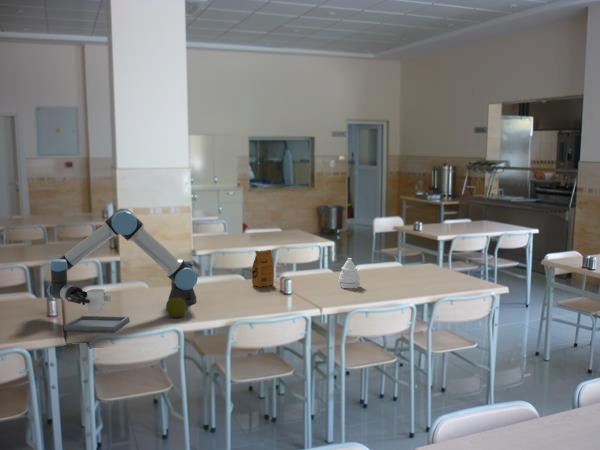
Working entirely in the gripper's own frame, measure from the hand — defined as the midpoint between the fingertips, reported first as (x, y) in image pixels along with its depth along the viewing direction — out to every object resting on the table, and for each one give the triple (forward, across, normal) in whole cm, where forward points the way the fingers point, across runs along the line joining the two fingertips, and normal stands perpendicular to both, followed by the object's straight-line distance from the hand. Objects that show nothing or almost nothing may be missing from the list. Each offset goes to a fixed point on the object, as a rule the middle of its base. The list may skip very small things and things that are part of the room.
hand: (102, 300), depth 282 cm
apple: (+14, -33, -13) cm, 38 cm away
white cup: (-5, 0, -6) cm, 8 cm away
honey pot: (+52, -141, -12) cm, 151 cm away
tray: (-5, 0, -13) cm, 14 cm away
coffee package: (+6, -115, -13) cm, 115 cm away
